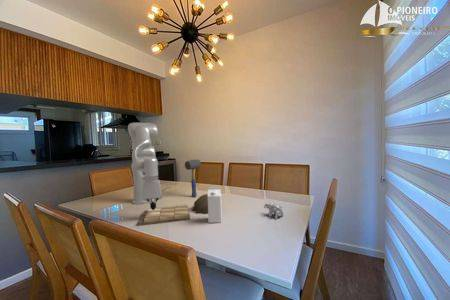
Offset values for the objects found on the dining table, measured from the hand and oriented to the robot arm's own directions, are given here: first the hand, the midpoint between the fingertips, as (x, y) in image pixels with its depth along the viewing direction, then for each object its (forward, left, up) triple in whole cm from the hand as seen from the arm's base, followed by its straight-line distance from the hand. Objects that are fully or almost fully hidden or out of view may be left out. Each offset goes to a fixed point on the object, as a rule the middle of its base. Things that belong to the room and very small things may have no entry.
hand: (153, 209), depth 124 cm
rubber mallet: (-38, +27, -6) cm, 47 cm away
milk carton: (+14, +35, -6) cm, 38 cm away
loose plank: (-4, 0, -4) cm, 6 cm away
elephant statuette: (+17, +69, -6) cm, 71 cm away
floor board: (-1, +7, -6) cm, 9 cm away
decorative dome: (-7, +33, -6) cm, 34 cm away
